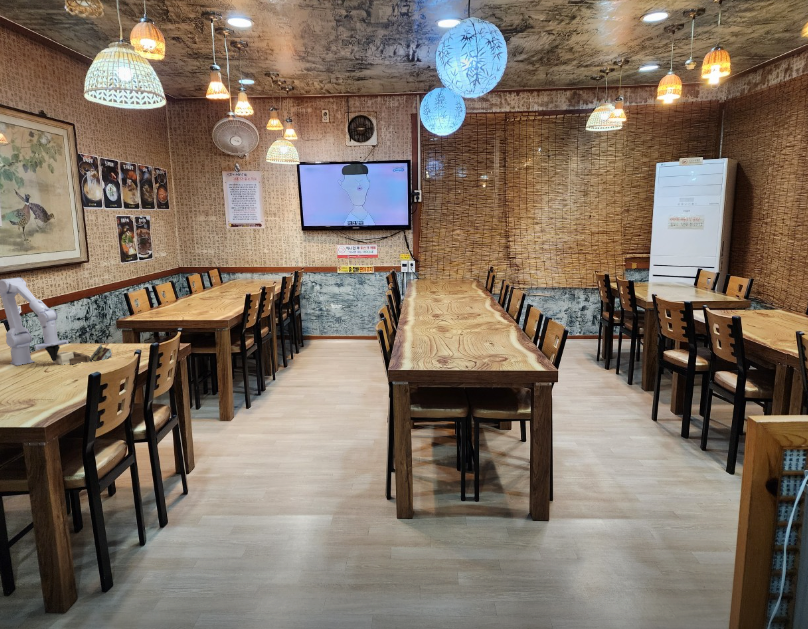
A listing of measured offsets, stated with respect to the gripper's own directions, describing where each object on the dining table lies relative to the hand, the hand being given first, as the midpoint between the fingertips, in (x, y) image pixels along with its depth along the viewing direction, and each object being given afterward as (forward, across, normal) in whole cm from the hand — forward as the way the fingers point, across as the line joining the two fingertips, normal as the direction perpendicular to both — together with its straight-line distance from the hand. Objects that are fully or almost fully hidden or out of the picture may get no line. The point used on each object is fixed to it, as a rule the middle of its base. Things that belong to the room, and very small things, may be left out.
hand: (54, 360), depth 262 cm
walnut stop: (+2, +9, 0) cm, 9 cm away
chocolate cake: (+3, +19, -8) cm, 21 cm away
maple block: (+2, +4, +1) cm, 5 cm away
